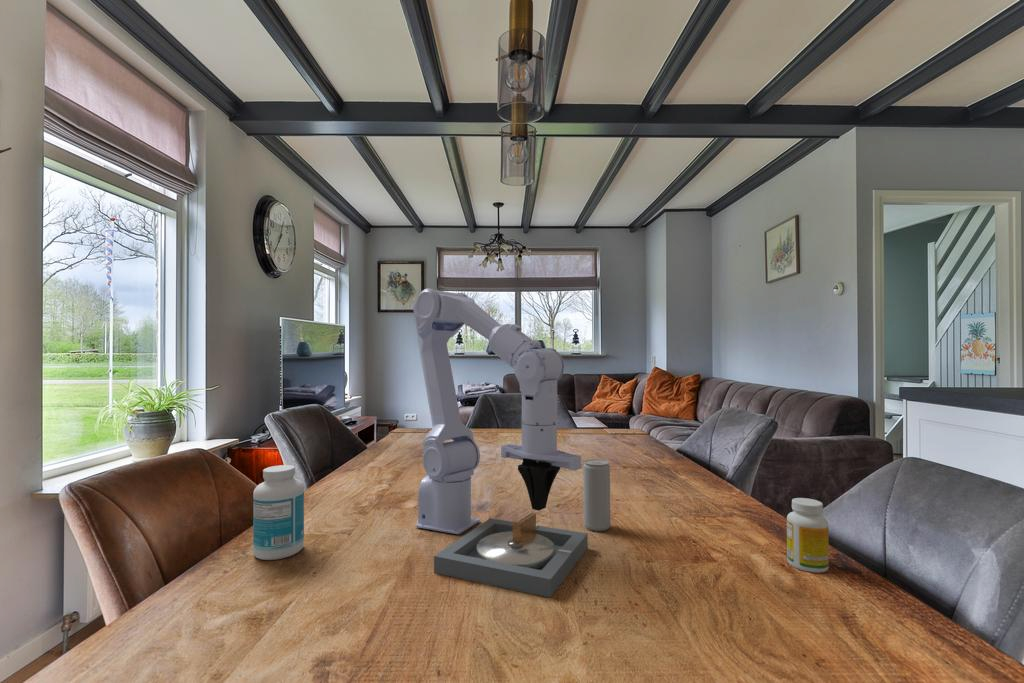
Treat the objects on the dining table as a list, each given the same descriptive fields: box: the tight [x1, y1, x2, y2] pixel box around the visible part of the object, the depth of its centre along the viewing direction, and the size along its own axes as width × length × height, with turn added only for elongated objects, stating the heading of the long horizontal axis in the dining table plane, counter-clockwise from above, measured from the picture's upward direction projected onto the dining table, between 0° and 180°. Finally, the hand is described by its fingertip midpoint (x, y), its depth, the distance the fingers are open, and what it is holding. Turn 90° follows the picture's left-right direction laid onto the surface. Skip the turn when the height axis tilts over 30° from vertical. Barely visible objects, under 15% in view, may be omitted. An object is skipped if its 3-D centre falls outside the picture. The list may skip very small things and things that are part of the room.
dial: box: [477, 511, 554, 569], centre depth 75 cm, size 12×12×5 cm
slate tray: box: [433, 517, 589, 599], centre depth 75 cm, size 18×18×3 cm
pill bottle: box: [252, 464, 305, 561], centre depth 78 cm, size 8×7×14 cm
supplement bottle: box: [786, 497, 830, 574], centre depth 73 cm, size 5×5×10 cm
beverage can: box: [582, 458, 611, 532], centre depth 89 cm, size 5×5×12 cm
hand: (538, 508), depth 78 cm, fingers closed
